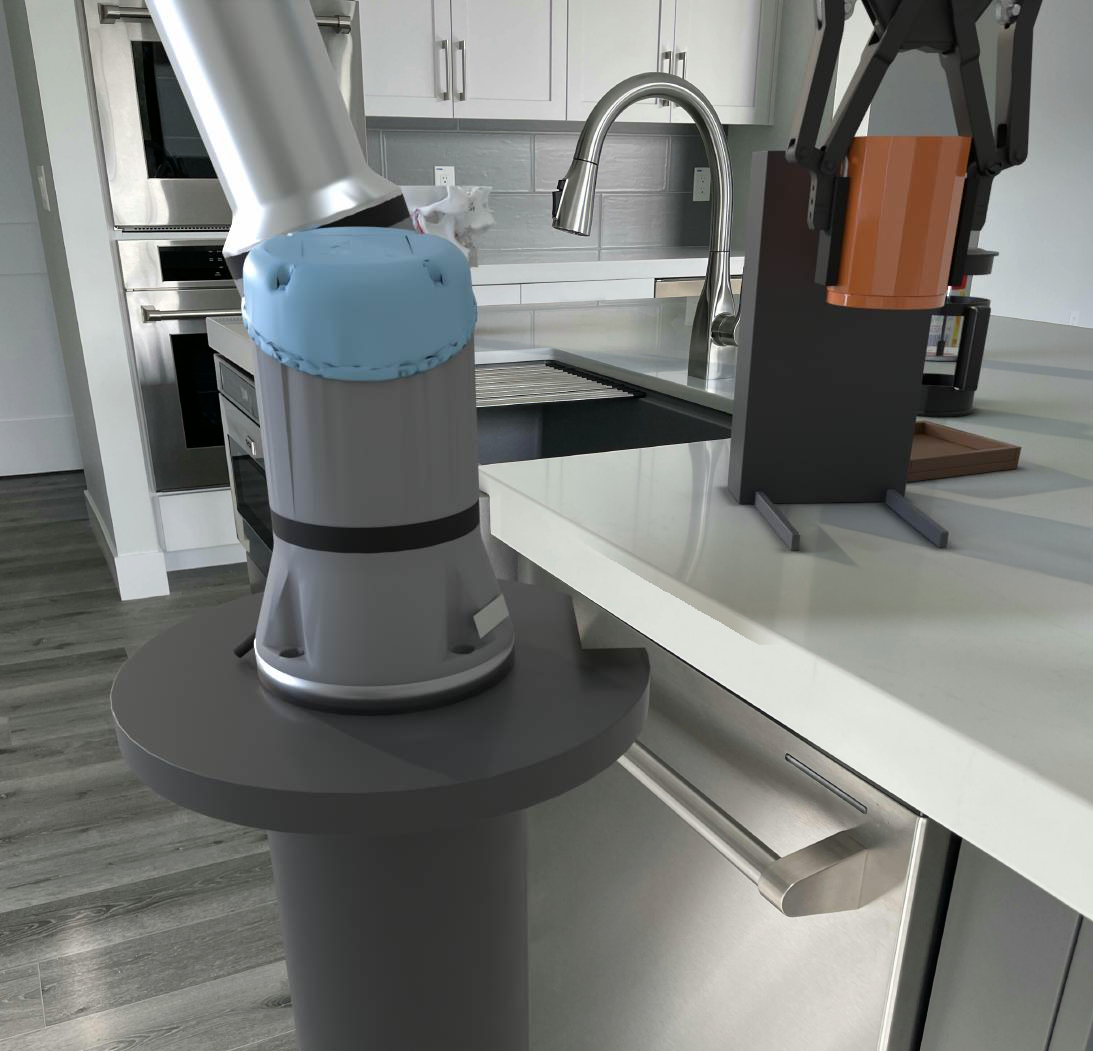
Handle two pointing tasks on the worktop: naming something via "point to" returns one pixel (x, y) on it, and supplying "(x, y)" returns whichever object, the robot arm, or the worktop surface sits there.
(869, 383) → the standing panel with handle
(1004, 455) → the tray
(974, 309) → the french press
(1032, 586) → the worktop surface
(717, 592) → the worktop surface
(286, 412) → the robot arm
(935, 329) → the canned food
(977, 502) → the worktop surface
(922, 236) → the cup
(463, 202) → the skull
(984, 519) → the worktop surface
